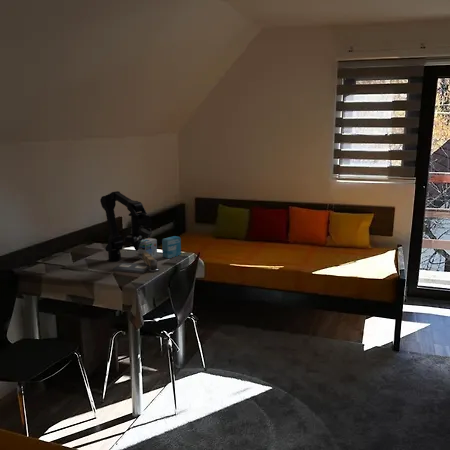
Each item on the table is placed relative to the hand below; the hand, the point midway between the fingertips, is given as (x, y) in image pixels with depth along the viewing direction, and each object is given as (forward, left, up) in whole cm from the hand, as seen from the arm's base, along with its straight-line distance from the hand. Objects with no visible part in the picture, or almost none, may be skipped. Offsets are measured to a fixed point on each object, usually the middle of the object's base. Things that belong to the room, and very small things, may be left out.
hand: (136, 250), depth 277 cm
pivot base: (+13, -5, -9) cm, 16 cm away
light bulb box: (-3, +21, -10) cm, 23 cm away
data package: (+11, +26, -10) cm, 30 cm away
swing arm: (+7, +2, -8) cm, 11 cm away
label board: (0, -5, -9) cm, 11 cm away
